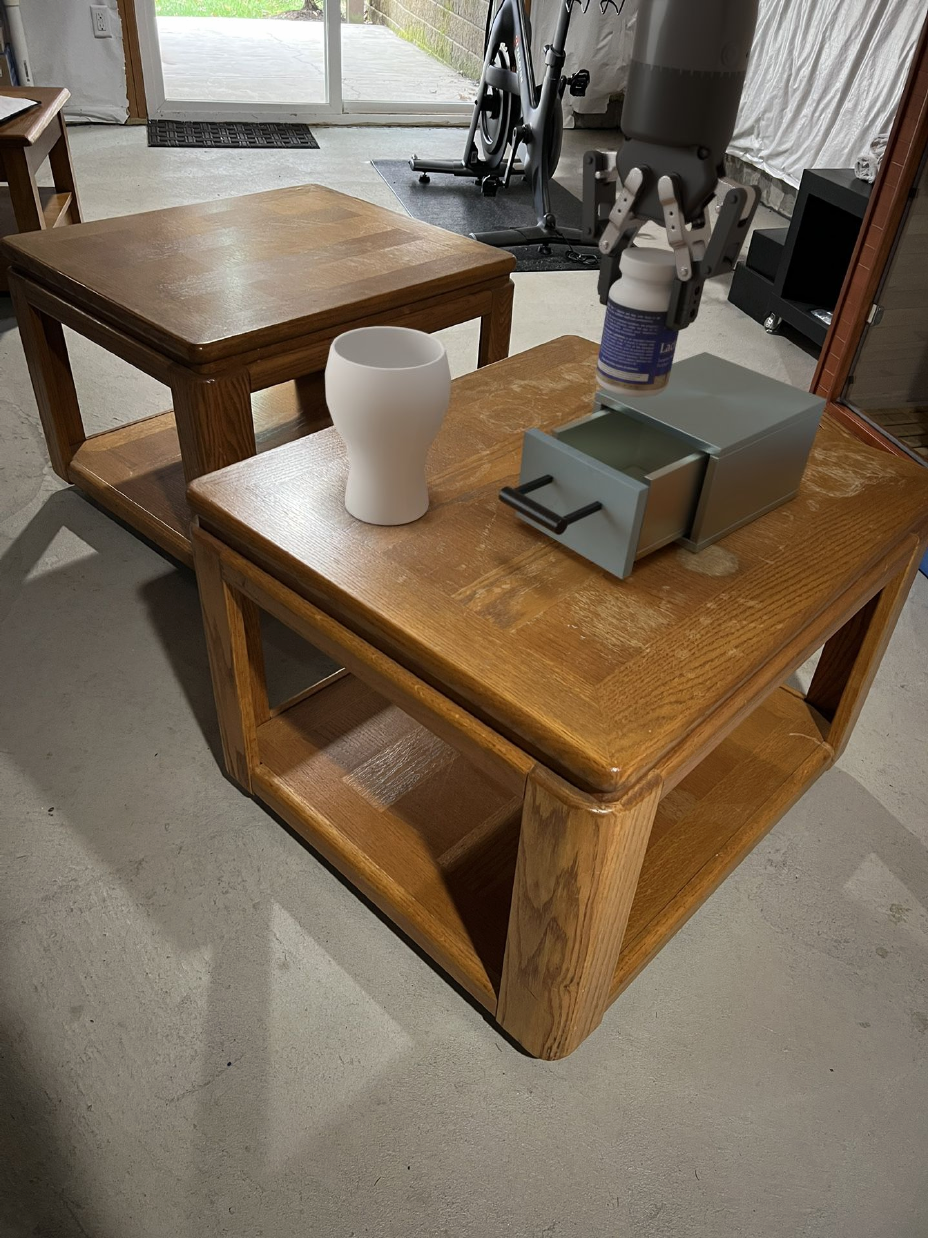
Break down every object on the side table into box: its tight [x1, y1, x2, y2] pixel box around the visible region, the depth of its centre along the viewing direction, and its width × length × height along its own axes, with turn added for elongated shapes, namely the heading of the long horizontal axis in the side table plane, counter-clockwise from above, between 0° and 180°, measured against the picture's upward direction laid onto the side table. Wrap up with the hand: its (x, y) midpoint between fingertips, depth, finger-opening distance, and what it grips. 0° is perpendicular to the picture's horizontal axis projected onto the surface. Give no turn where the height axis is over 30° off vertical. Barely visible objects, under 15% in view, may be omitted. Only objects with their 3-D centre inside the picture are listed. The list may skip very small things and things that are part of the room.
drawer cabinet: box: [591, 351, 828, 554], centre depth 88 cm, size 17×14×10 cm
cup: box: [324, 325, 452, 526], centre depth 82 cm, size 11×11×15 cm
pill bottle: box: [595, 246, 680, 397], centre depth 71 cm, size 6×6×10 cm
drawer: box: [498, 407, 711, 580], centre depth 81 cm, size 21×13×8 cm, turn 132°
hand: (643, 314), depth 70 cm, fingers closed on pill bottle, 5 cm apart
